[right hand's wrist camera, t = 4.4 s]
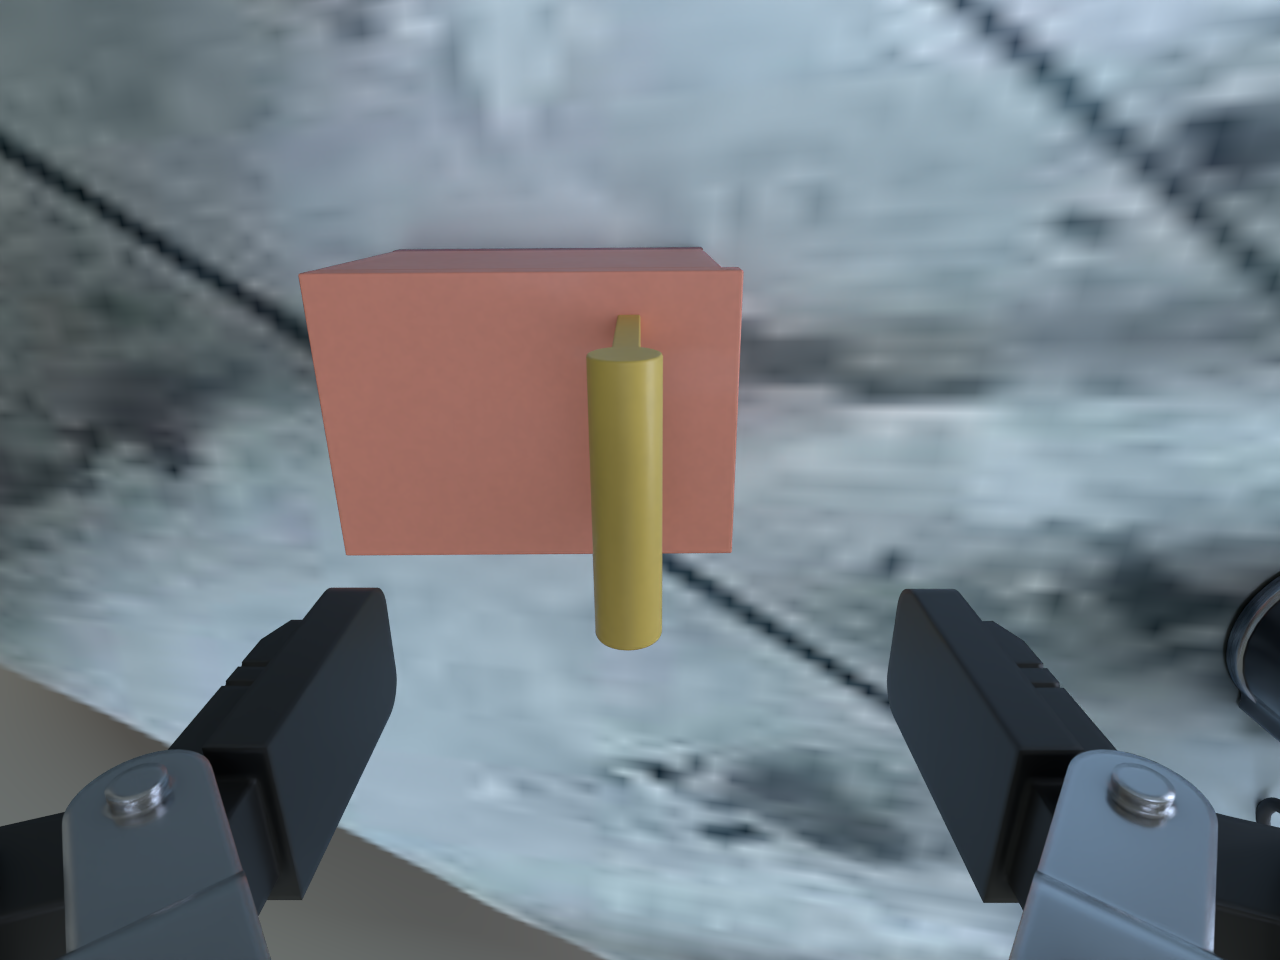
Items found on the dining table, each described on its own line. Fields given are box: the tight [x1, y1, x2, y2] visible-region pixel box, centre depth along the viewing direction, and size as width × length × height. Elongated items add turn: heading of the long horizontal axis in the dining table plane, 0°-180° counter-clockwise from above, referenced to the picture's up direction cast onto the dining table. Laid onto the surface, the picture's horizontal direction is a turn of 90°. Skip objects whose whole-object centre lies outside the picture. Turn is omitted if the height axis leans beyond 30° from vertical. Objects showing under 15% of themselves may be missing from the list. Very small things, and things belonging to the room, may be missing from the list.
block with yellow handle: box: [298, 267, 743, 650], centre depth 21 cm, size 13×10×8 cm
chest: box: [318, 247, 721, 270], centre depth 29 cm, size 13×10×9 cm
